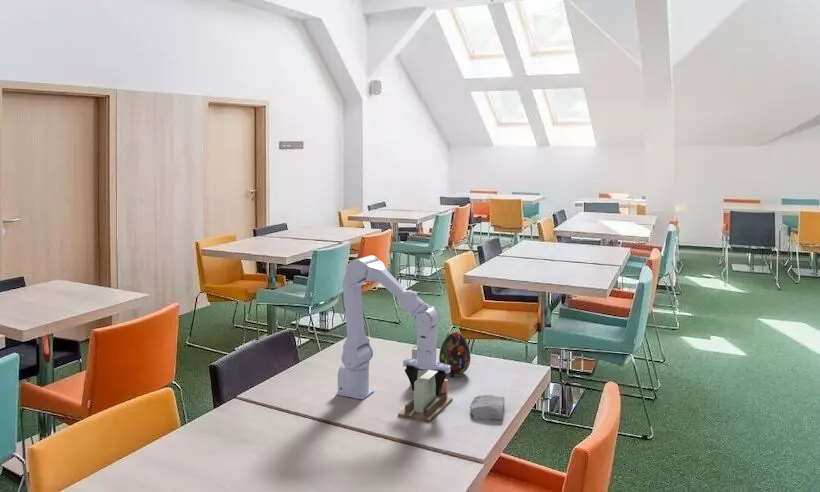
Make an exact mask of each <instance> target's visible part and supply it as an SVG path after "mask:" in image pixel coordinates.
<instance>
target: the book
mask: <svg viewBox="0 0 820 492" xmlns="http://www.w3.org/2000/svg"><path fill="white" fill-rule="evenodd" d="M437 372H438V371H434V370H428V371H427V372H426V373H425V374H424V375H422V376H421V377H420V378H419V379H417V380H416V381H415V382H414V391H413V398H414V411H415V412H420V413H424V412H425V408H426V407H427V406H429V405H430V404H431V403H432V402H433V401H434V400H435V399H436V398H437V397H438V396H436V382H435V376H434V375H435V374H436V373H437Z"/></svg>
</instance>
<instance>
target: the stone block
mask: <svg viewBox="0 0 820 492" xmlns="http://www.w3.org/2000/svg"><path fill="white" fill-rule="evenodd" d="M469 408H470V414H471V416H472V417H473V418H474V419H478V418H479V420H490V419H493V420H492V421H502V420H503V416H504V410H505V409H504V408H505V396H499V395H494V394H483V395H477V396H475V397H474V398H473V400H471V403H470V405H469Z"/></svg>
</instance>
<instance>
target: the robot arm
mask: <svg viewBox="0 0 820 492" xmlns="http://www.w3.org/2000/svg"><path fill="white" fill-rule="evenodd" d="M345 271H346V272H345V274H344V276H343V279H342V291H343V293H342V294H343V301H344V312H345V313H344V315H345V325H346V337H347V338H346V339H345V342H344V343H343V346H342V350H343V351H342V353H341V357H340V358H341V363H342V364H341V365H340V366H339V369H338V371H337V392H336V395H337V396H343V397H347V398H353V399H357V400H358V399H359V400H364V399H365V398H367V397H368V396H369V395H371V394H373V393H374V392H375V389H373V388H372V389H371V388H370V361H371V360H372V358H373V357H374V356H373V355H374V351H373V348H372V346H371V344H370V339H369V338H368V337H367V336H366V335H365V324H364V323H365V322H364V321H365V320H364V311H363V297H362V286H363V284H364V283H365V282H366V281H369V282H377V283H379V284H381V285H382V286H383V288H385V289H387V291H388V292H389V293H391V294H392V295H393V296H395V297H396V298H397V304H398V305H399V306H400V308H402V309H403V310H404V311H405V312H406V313H407V314H408V315H409V316H410V317H411V318H412V319H413V324H414V326H415V328H416V331H417V333H416V335H417V337H416V338H417V341H416V343H417V344H416V346H417V359H412V358H404V359H403V361H402V367H405V369H404V372H405V374H406V376H407V378H408V380H409V384H410V387H411V390H412V392H414V382H415V381H416V380H417V375H418V368H419V369H427V370H428V371H429V370H430V371H436V372H437V373H436V374H435V375H434V376H435V382H436V396H438V395H440V393H441V388H442V385H443V382H444V380H445V379H446V377H448V376H447V374H448V373H450V372H451V366H450V365H446V364H443V363H440V362H439V361H437V343H438V342H437V340H438V339H437V336H438V335H437V334H438V333H437V332H438V331H437V330H438V326H437V325H438V324H439V322H440V320H441V314H440V312H439V311H438V308H436V307H435V306H431V305H429V304H428V303H427V302H424V301H423V299H421V298H420V297H419V296H418V292H417V291H413V290H412V289H405V288H404V287H403V286H402V285H401V283H400V282H399V281H398V280H397V279H396V277H394V276H393V275H392V274H391V273H390V272H389V270H388V269H387V268H386V266H385V264H384V263H383V261H381V260H380V259H379V258H378V257H377V256H375V255H373V254H372V255H371V254H370V255H366V256H364V257H361V258H356V259H352V260H351V261H350V262H349V263H348V264H347V265H346V266H345Z"/></svg>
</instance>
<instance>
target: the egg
mask: <svg viewBox="0 0 820 492" xmlns="http://www.w3.org/2000/svg"><path fill="white" fill-rule="evenodd" d="M438 359H439V360H438V362H440V363H443V364H446V365H450V366H451V372H450V373H448V374H447V376H446V377H452V378H457V377H462V376H464V373H465V372H466V371H467V370H468V369H469V367H470V365H471V350H470V347H469V344H468V342H467V340H466V338H465V336H464V335H463V334H462V333H461V332H459V331H456V330H455V331H451V332H449V334H448V335H447V336H446V337H445V338H444V340H443V341H442V345H441V346H440V349H439V355H438Z"/></svg>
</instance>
